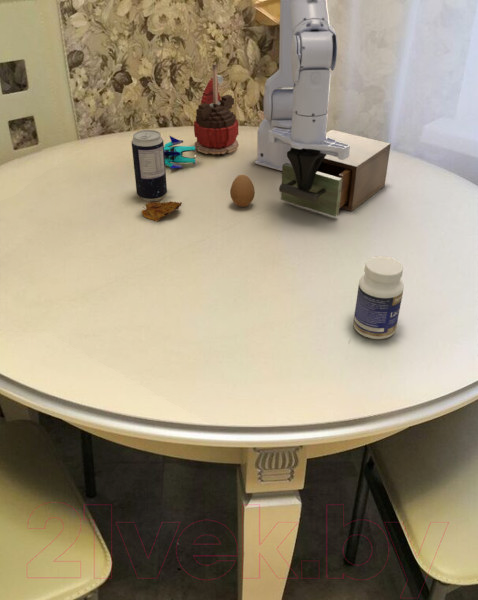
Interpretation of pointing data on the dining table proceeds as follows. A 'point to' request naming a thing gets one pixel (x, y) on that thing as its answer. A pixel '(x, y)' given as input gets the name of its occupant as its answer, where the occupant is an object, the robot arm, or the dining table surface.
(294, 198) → the drawer
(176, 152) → the figurine
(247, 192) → the egg
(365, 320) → the pill bottle
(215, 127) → the cake
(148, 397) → the dining table surface
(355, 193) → the cabinet
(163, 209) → the leaf
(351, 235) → the dining table surface
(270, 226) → the dining table surface
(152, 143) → the beverage can
